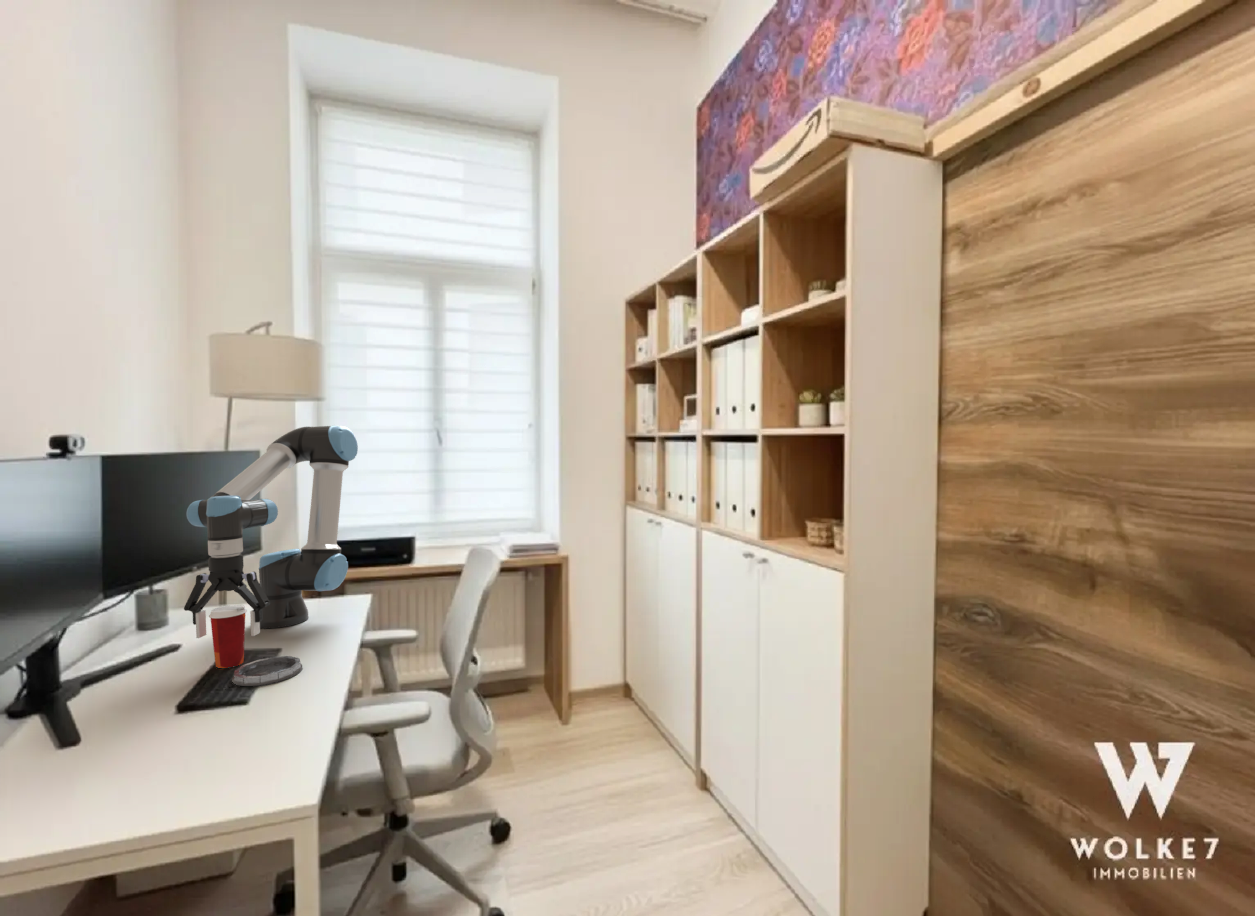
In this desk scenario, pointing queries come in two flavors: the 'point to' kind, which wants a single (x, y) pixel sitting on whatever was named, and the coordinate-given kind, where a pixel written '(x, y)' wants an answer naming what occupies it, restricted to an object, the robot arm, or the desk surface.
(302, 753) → the desk surface
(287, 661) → the ring seat
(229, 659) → the coffee cup
